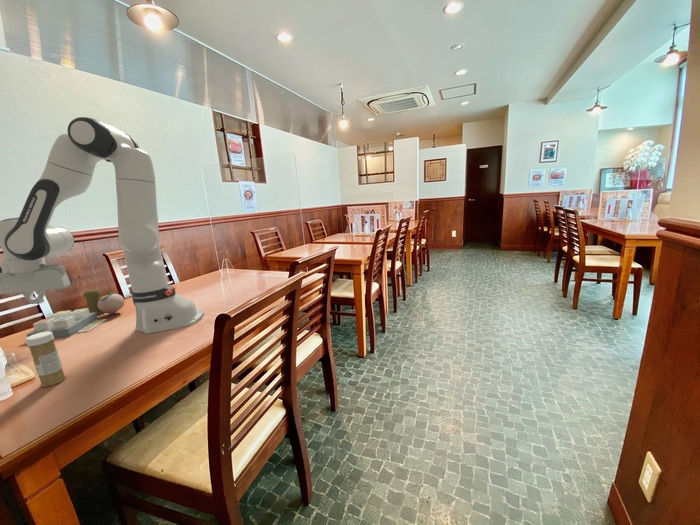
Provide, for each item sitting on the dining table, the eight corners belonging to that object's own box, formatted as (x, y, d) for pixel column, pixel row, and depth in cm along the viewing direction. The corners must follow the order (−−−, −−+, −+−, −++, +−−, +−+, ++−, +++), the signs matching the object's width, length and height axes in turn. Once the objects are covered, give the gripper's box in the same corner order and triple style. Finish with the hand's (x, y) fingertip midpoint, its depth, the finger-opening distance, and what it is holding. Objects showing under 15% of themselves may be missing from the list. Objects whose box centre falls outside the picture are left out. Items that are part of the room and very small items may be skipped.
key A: (73, 318, 110) (70, 309, 109) (66, 322, 106) (63, 313, 105) (61, 319, 109) (58, 311, 108) (53, 324, 105) (50, 314, 105)
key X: (76, 324, 104) (73, 315, 103) (68, 328, 100) (65, 319, 99) (63, 326, 103) (61, 316, 102) (55, 330, 99) (52, 321, 98)
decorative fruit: (121, 316, 115) (115, 293, 113) (97, 319, 113) (91, 296, 111) (130, 308, 124) (125, 287, 122) (109, 311, 122) (103, 290, 120)
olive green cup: (95, 317, 116) (88, 292, 114) (84, 316, 117) (77, 292, 115) (110, 311, 122) (104, 287, 120) (99, 311, 123) (93, 287, 121)
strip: (106, 319, 113) (106, 318, 112) (88, 331, 102) (88, 330, 102) (96, 321, 112) (95, 319, 112) (77, 333, 101) (76, 331, 101)
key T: (58, 326, 102) (55, 317, 102) (49, 331, 99) (46, 321, 98) (44, 328, 102) (42, 319, 101) (35, 333, 98) (32, 323, 97)
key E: (90, 316, 111) (88, 307, 111) (83, 320, 108) (81, 311, 107) (78, 317, 110) (76, 309, 110) (71, 321, 107) (68, 312, 106)
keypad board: (98, 318, 114) (96, 312, 113) (70, 336, 99) (67, 328, 98) (63, 323, 111) (61, 316, 111) (29, 342, 96) (26, 334, 95)
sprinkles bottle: (40, 383, 72) (24, 336, 69) (65, 374, 75) (51, 329, 72) (41, 390, 69) (25, 341, 66) (67, 380, 72) (52, 333, 69)
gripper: (69, 261, 100) (78, 297, 103) (-2, 266, 96) (10, 303, 99) (55, 264, 94) (65, 302, 97) (-21, 270, 90) (-8, 309, 93)
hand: (37, 303), depth 98 cm, fingers closed
